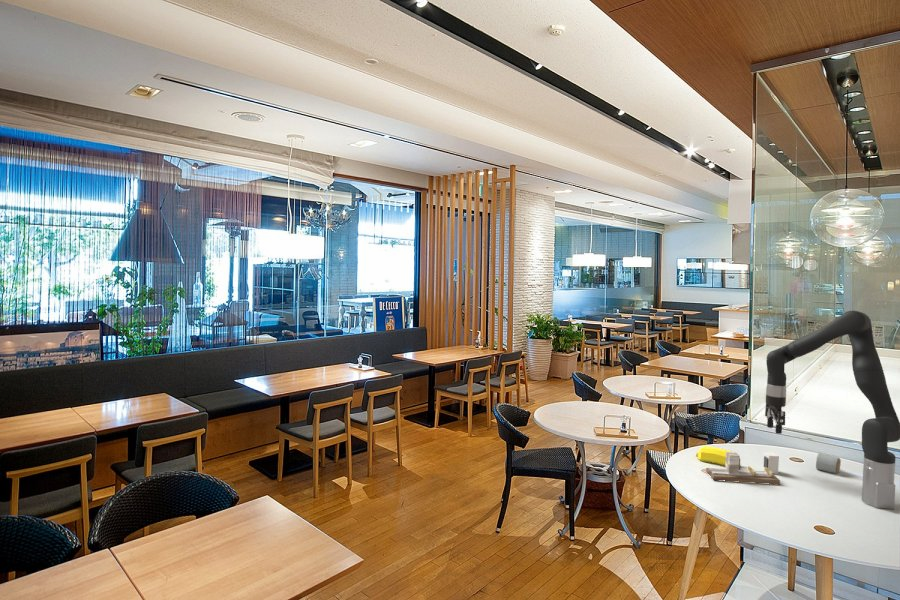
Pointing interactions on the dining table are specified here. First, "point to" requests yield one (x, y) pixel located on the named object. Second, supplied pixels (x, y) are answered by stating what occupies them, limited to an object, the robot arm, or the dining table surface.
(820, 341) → the robot arm
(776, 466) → the loose white rectangular block
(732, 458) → the wooden ladder shelf
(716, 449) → the yellow faceted pepper
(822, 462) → the ceramic mug
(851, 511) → the dining table surface
